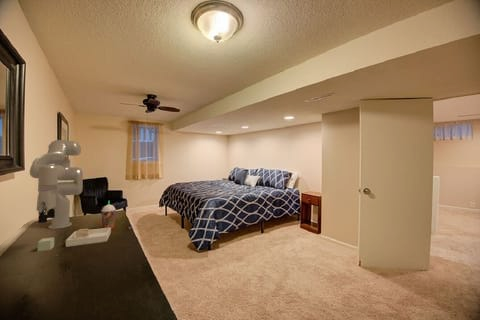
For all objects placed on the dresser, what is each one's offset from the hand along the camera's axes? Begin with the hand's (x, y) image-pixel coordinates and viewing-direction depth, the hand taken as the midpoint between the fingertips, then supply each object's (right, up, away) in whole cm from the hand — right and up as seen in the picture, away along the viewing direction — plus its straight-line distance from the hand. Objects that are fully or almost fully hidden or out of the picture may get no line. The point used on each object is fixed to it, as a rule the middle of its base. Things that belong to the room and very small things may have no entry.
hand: (46, 220), depth 107 cm
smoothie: (+12, -16, +32) cm, 37 cm away
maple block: (+9, -15, +12) cm, 21 cm away
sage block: (0, -16, 0) cm, 16 cm away
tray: (+13, -16, +14) cm, 25 cm away
